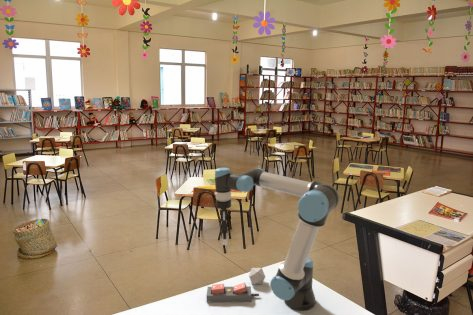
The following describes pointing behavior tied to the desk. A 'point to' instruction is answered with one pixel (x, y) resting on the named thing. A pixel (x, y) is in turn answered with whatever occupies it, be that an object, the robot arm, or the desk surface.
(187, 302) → the desk surface
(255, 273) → the die
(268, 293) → the desk surface
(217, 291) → the rocker
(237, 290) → the rocker
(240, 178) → the robot arm
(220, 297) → the power strip
